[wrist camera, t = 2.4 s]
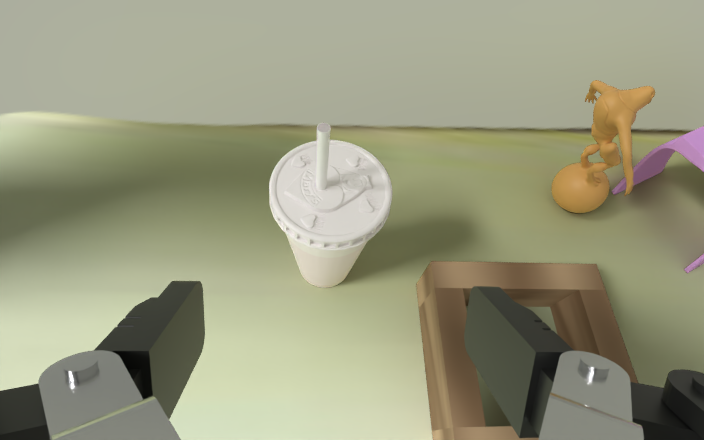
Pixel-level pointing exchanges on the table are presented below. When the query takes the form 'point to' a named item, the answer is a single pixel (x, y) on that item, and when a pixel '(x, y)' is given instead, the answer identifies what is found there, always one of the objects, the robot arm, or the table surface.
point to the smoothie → (329, 204)
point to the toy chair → (694, 146)
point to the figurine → (602, 148)
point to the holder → (529, 291)
